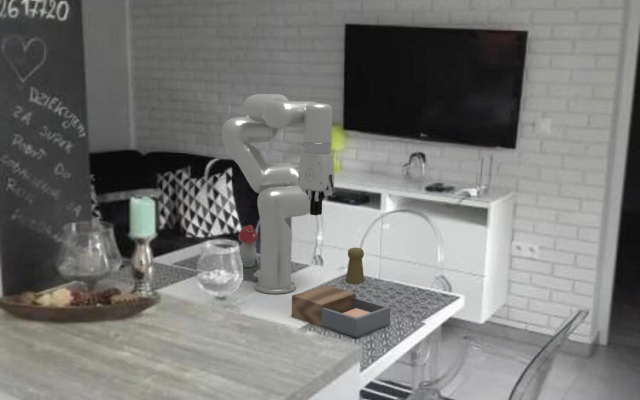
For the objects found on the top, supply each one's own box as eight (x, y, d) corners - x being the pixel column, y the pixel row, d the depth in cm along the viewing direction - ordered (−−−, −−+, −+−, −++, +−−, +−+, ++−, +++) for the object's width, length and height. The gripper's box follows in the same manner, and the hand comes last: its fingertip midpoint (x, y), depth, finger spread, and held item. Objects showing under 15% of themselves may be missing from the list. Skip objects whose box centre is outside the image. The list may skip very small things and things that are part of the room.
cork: (362, 284, 227) (364, 251, 226) (344, 283, 229) (345, 249, 227) (365, 279, 233) (366, 246, 231) (347, 278, 234) (348, 245, 233)
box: (321, 326, 189) (321, 308, 188) (355, 314, 199) (355, 297, 198) (356, 338, 181) (356, 319, 180) (389, 325, 191) (390, 307, 190)
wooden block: (291, 316, 196) (292, 295, 195) (325, 305, 206) (326, 285, 205) (321, 326, 189) (321, 304, 188) (355, 314, 199) (355, 293, 198)
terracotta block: (360, 318, 185) (359, 329, 186) (373, 313, 190) (373, 324, 190) (342, 313, 189) (341, 324, 189) (356, 308, 193) (355, 318, 194)
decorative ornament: (255, 269, 243) (255, 225, 240) (236, 268, 243) (236, 225, 240) (258, 262, 252) (259, 220, 249) (240, 261, 252) (240, 219, 250)
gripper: (288, 147, 198) (287, 212, 201) (328, 152, 188) (326, 220, 192) (307, 145, 204) (305, 209, 207) (347, 150, 194) (345, 216, 197)
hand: (315, 214), depth 199 cm, fingers closed
